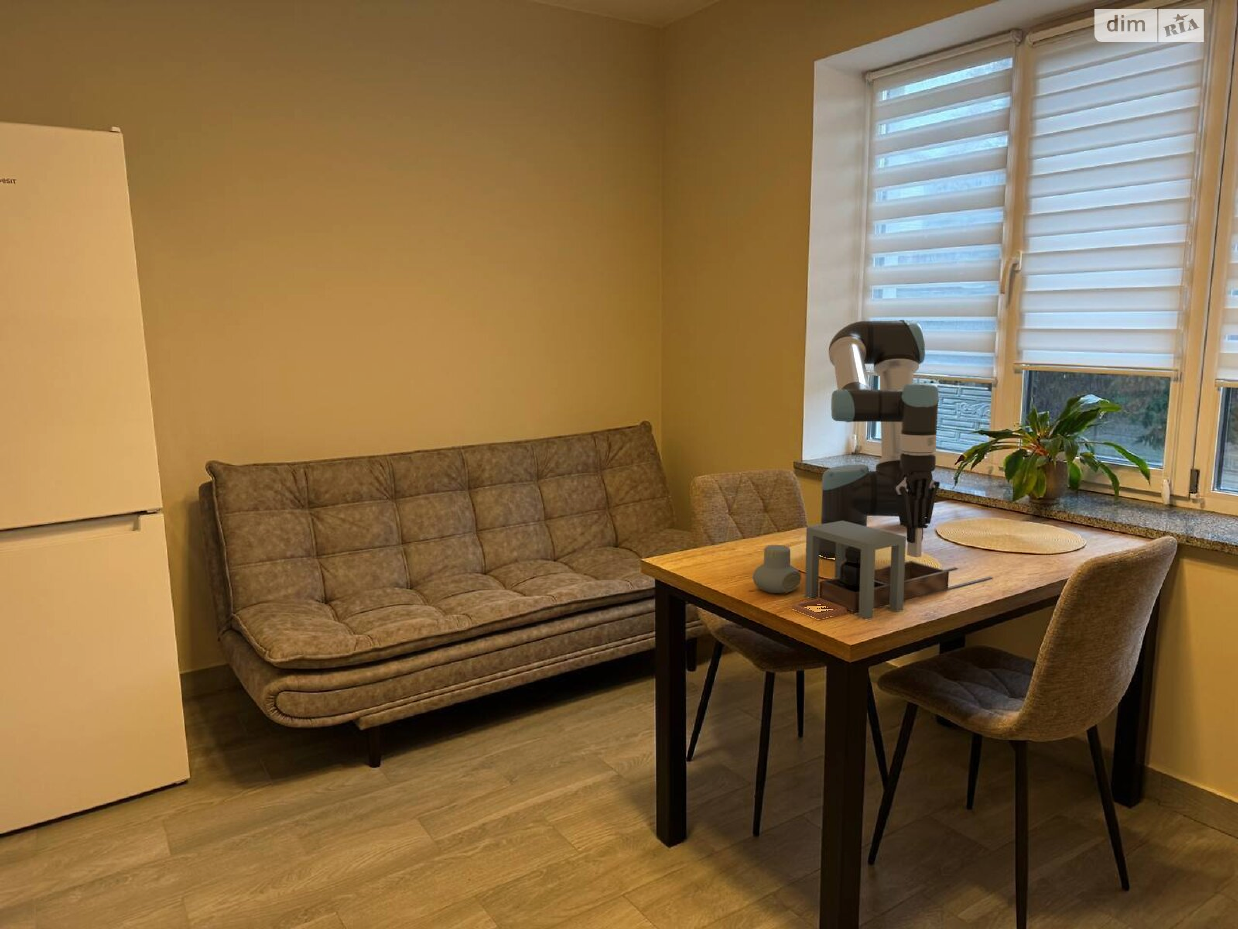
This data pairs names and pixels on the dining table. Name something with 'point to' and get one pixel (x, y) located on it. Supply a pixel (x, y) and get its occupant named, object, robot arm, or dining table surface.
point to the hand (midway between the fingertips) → (914, 555)
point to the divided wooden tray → (888, 585)
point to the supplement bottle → (850, 570)
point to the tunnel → (862, 562)
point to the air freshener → (776, 571)
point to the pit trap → (819, 615)
